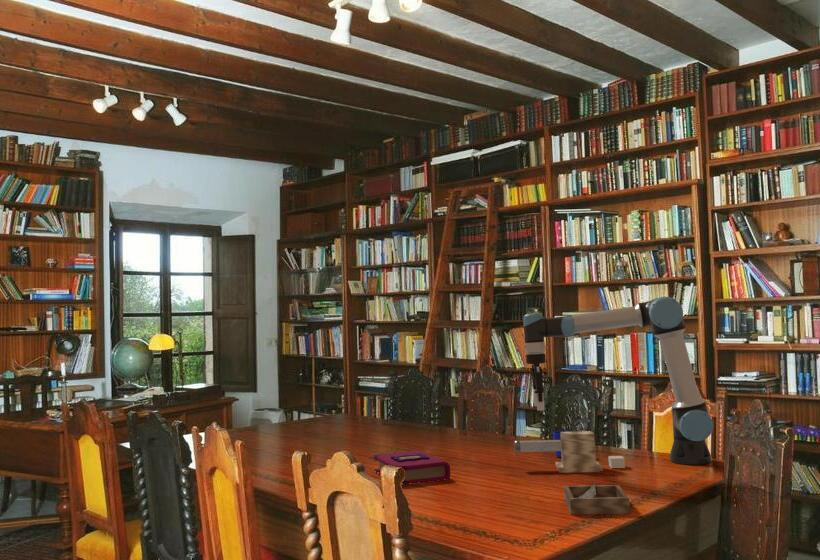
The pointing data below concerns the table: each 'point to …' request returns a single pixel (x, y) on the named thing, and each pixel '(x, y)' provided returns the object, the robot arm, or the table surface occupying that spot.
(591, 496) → the rock sample
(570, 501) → the wooden tray
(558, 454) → the mug
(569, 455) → the block
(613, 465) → the spacer
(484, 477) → the table surface
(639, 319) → the robot arm
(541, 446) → the shaft
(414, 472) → the book
